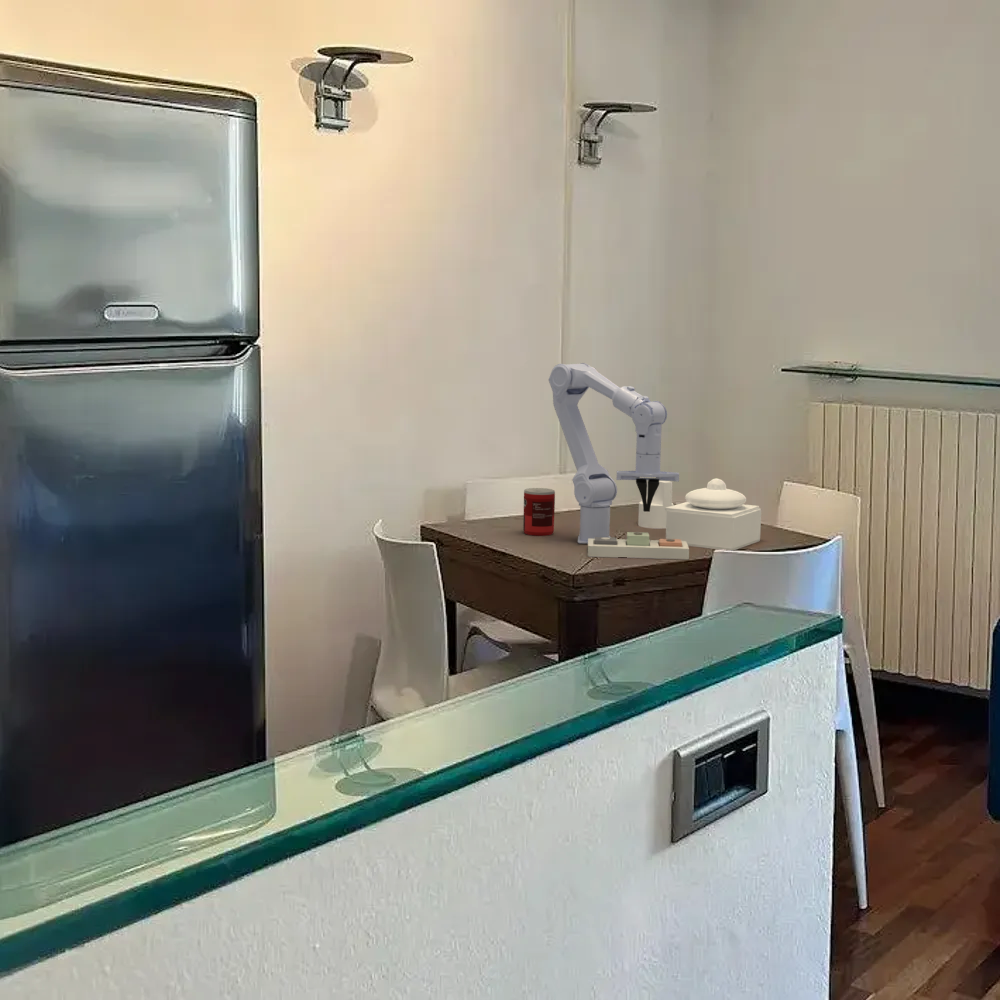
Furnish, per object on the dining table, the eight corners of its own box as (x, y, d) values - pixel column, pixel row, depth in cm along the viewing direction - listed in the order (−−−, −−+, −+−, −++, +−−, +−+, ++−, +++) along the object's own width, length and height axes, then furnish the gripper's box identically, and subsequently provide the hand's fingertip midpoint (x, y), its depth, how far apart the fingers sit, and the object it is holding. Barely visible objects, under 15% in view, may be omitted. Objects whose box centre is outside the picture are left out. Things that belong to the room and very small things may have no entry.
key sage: (626, 545, 320) (627, 531, 320) (648, 546, 320) (648, 531, 319) (627, 549, 315) (627, 534, 315) (648, 549, 315) (649, 535, 314)
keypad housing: (587, 548, 323) (588, 538, 323) (685, 551, 322) (686, 541, 321) (587, 556, 313) (588, 545, 313) (688, 559, 312) (689, 548, 312)
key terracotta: (658, 552, 320) (659, 537, 319) (680, 552, 319) (680, 538, 319) (659, 556, 315) (660, 541, 314) (681, 556, 314) (681, 542, 314)
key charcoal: (594, 550, 321) (594, 536, 320) (615, 550, 320) (616, 536, 320) (594, 554, 316) (594, 539, 315) (616, 554, 315) (616, 540, 315)
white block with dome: (732, 551, 324) (735, 485, 321) (663, 543, 333) (665, 478, 331) (760, 541, 338) (763, 477, 336) (693, 534, 348) (695, 472, 346)
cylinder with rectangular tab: (631, 524, 360) (632, 479, 358) (656, 521, 365) (657, 477, 363) (654, 529, 352) (656, 483, 351) (679, 526, 358) (681, 481, 356)
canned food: (535, 529, 349) (536, 487, 348) (560, 533, 344) (561, 490, 343) (516, 533, 344) (517, 489, 342) (541, 537, 338) (542, 493, 337)
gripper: (617, 454, 316) (615, 512, 318) (680, 456, 315) (678, 514, 317) (617, 451, 323) (615, 508, 325) (678, 452, 322) (676, 509, 324)
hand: (646, 511), depth 321 cm, fingers closed
